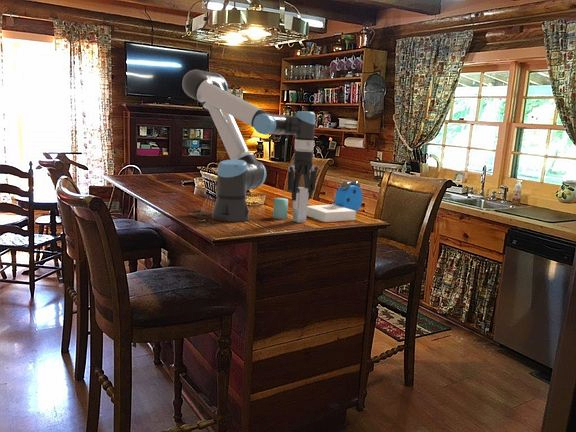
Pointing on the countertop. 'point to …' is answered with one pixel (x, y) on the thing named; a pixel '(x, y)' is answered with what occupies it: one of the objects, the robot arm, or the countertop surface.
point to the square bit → (301, 206)
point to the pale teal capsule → (280, 208)
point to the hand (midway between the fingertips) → (300, 207)
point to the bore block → (330, 213)
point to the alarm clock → (349, 195)
